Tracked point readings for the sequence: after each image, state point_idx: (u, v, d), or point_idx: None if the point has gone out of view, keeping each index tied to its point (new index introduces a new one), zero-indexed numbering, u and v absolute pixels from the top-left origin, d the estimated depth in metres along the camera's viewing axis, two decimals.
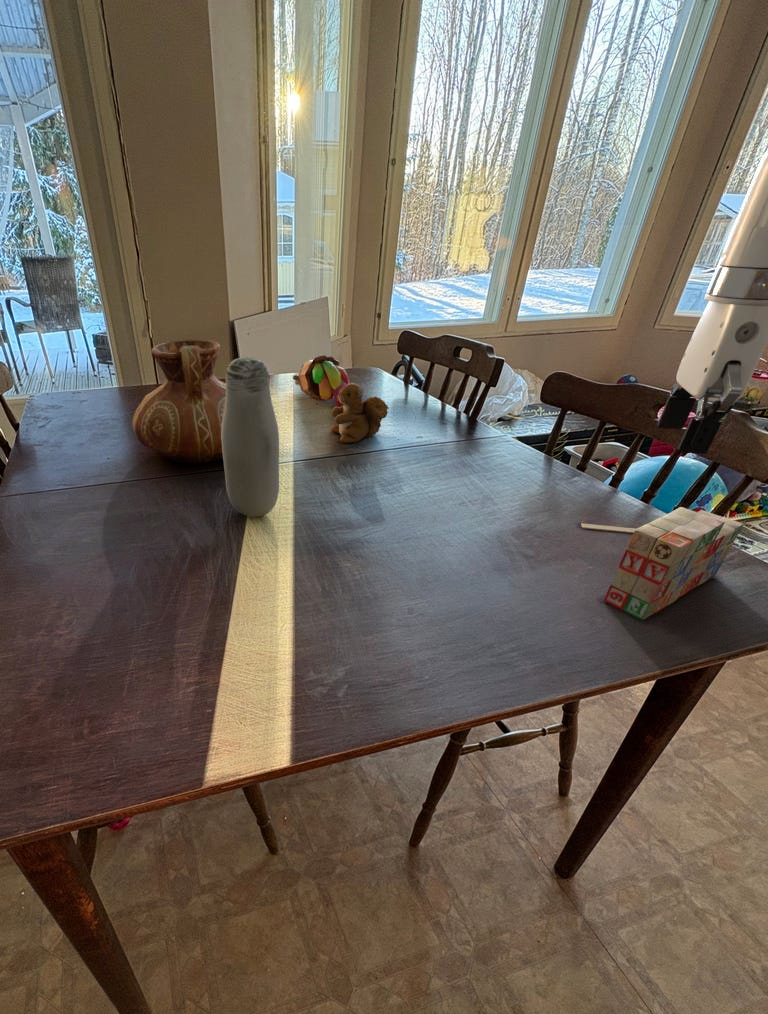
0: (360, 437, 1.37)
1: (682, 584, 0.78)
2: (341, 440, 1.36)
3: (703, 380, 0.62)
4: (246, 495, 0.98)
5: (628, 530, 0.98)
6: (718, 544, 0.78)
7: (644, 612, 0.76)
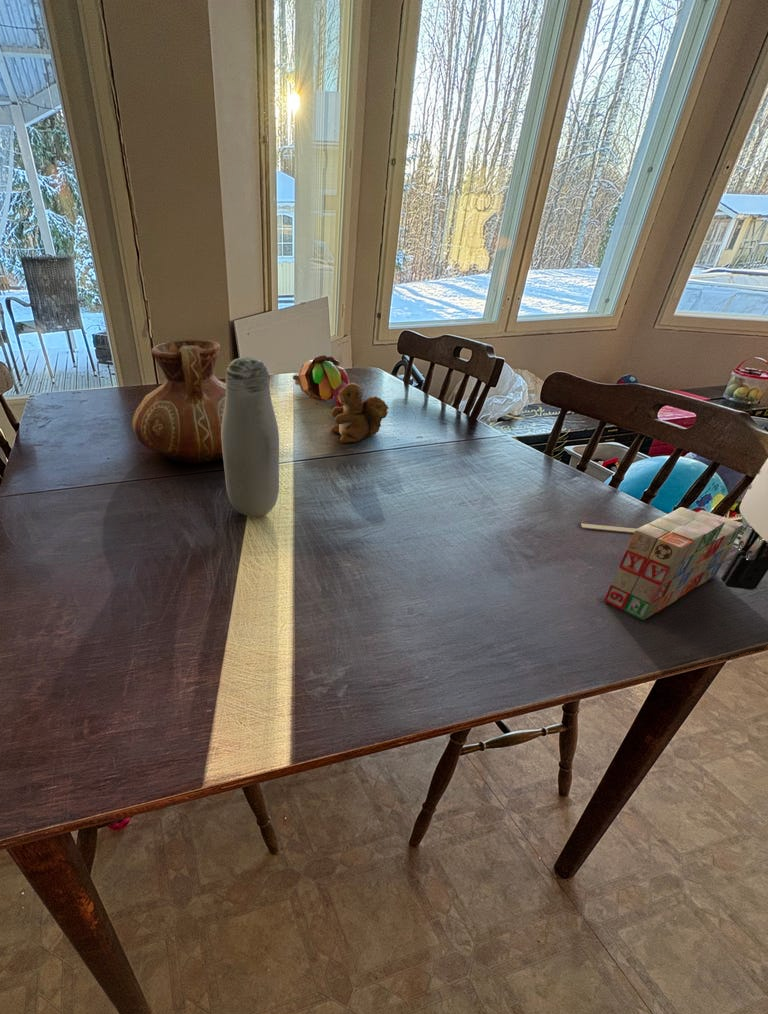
0: (360, 437, 1.37)
1: (682, 584, 0.78)
2: (341, 440, 1.36)
3: None
4: (246, 495, 0.98)
5: (628, 530, 0.98)
6: (718, 544, 0.78)
7: (644, 612, 0.76)
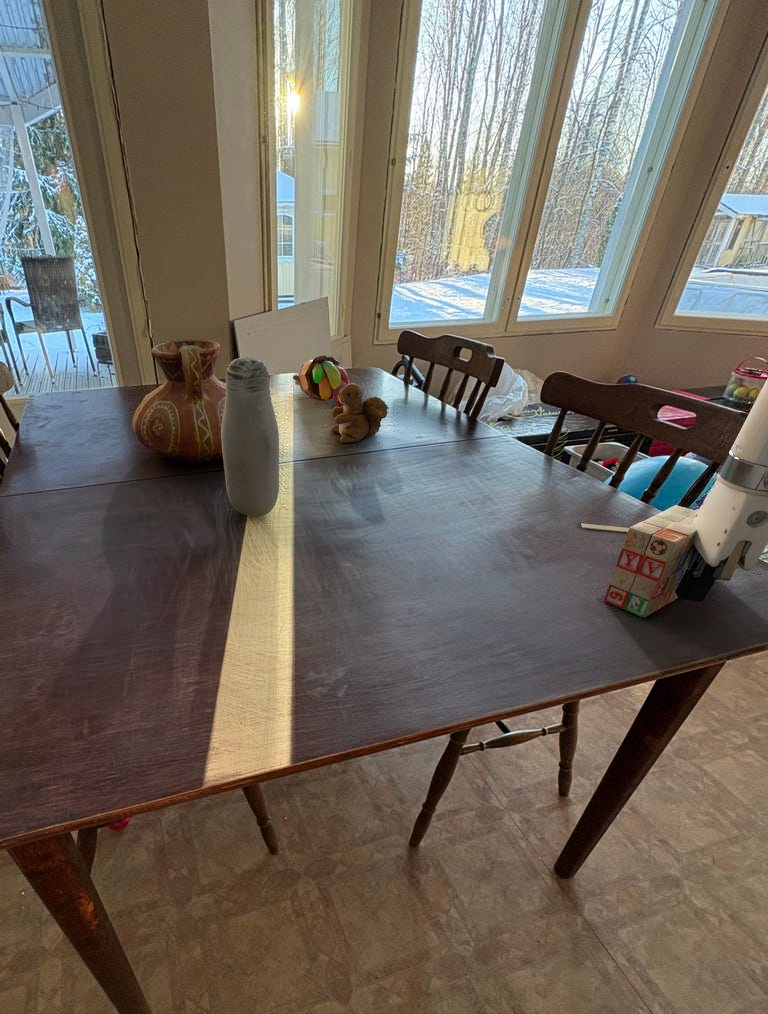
0: (360, 437, 1.37)
1: None
2: (341, 440, 1.36)
3: (716, 553, 0.67)
4: (246, 495, 0.98)
5: None
6: None
7: (645, 610, 0.76)
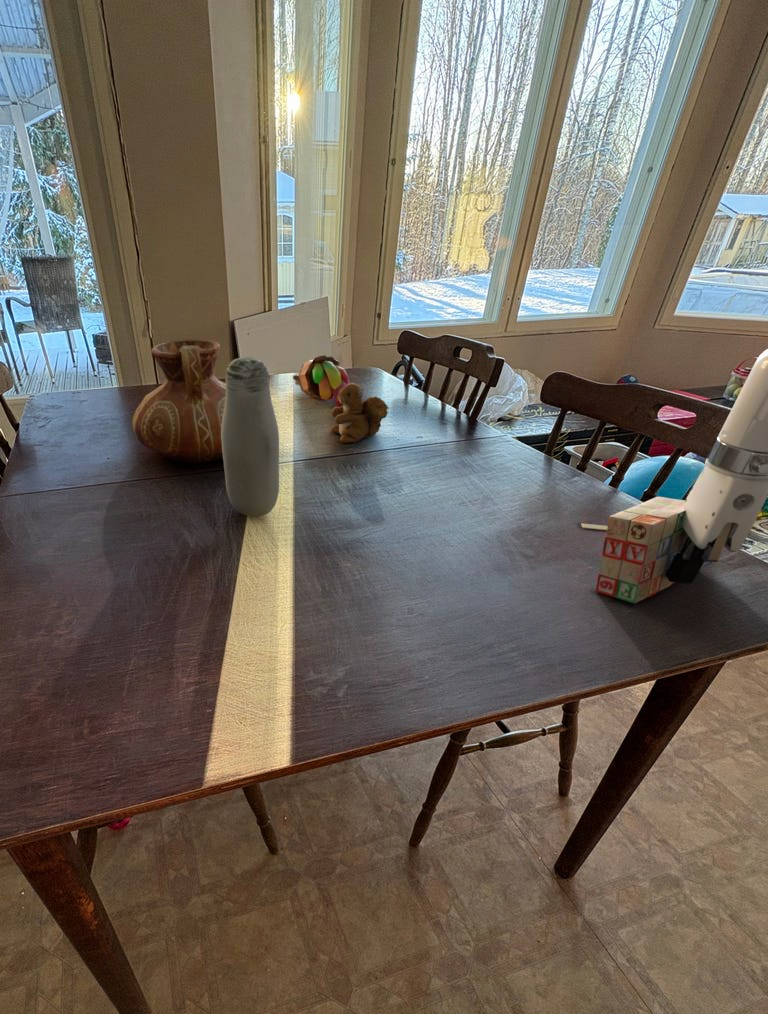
0: (360, 437, 1.37)
1: None
2: (341, 440, 1.36)
3: (704, 535, 0.70)
4: (246, 495, 0.98)
5: None
6: None
7: (634, 595, 0.78)
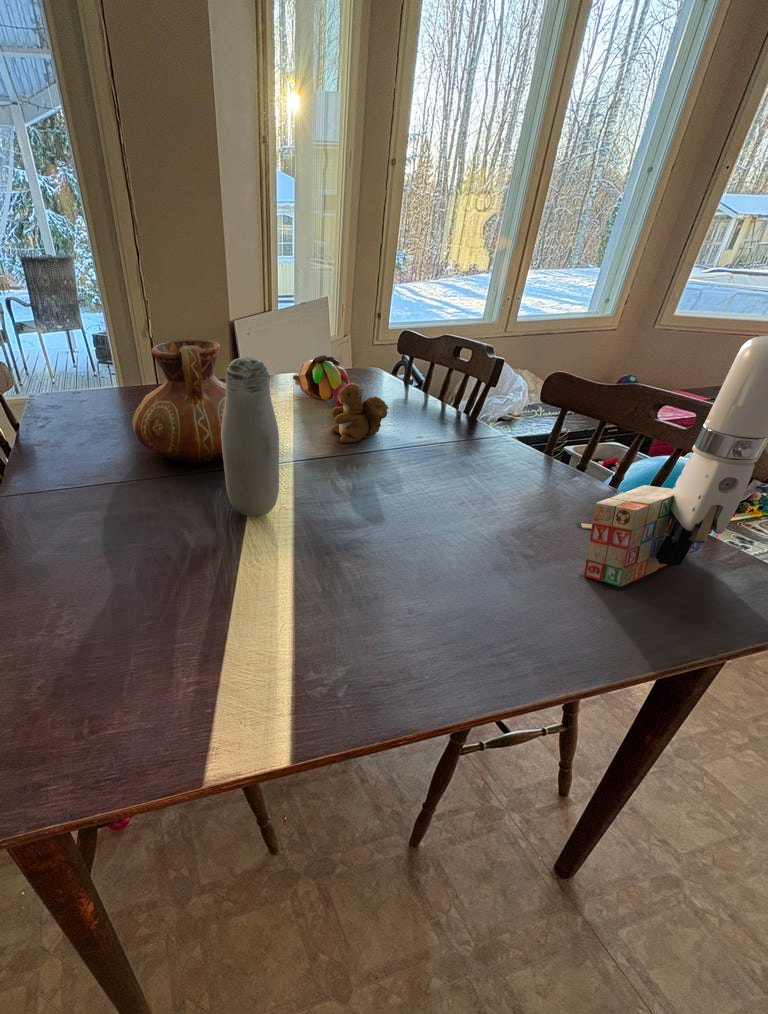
0: (360, 437, 1.37)
1: None
2: (341, 440, 1.36)
3: (691, 517, 0.73)
4: (246, 495, 0.98)
5: None
6: None
7: (620, 578, 0.81)
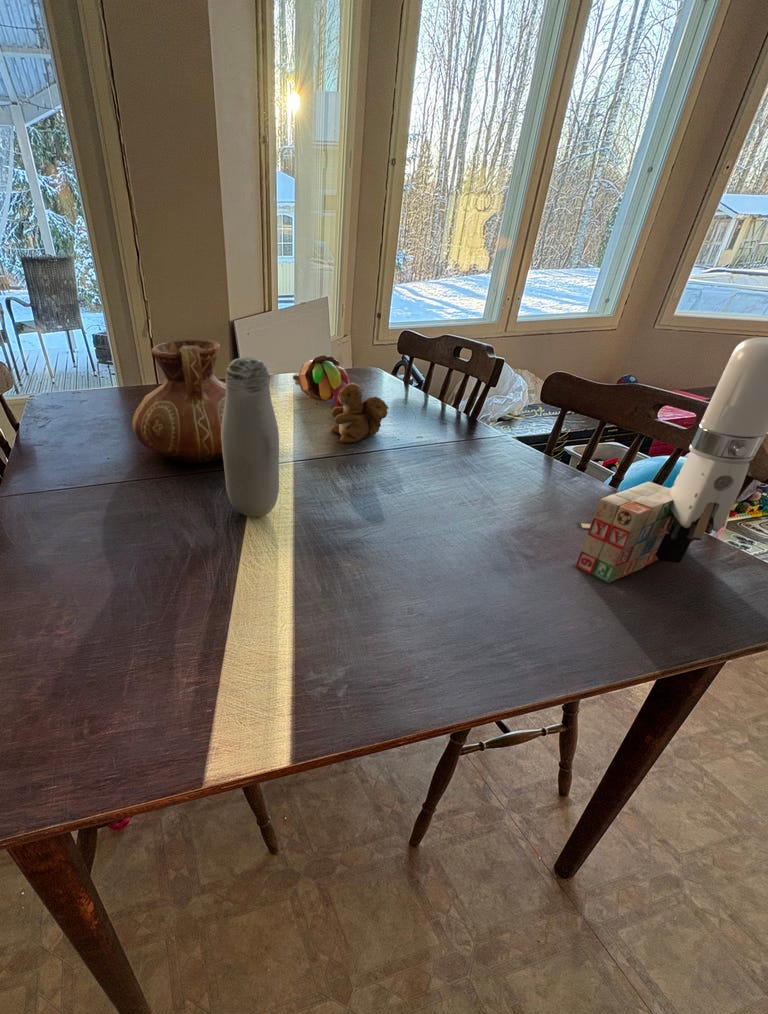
0: (360, 437, 1.37)
1: (647, 552, 0.86)
2: (341, 440, 1.36)
3: (688, 515, 0.75)
4: (246, 495, 0.98)
5: None
6: None
7: (609, 575, 0.84)
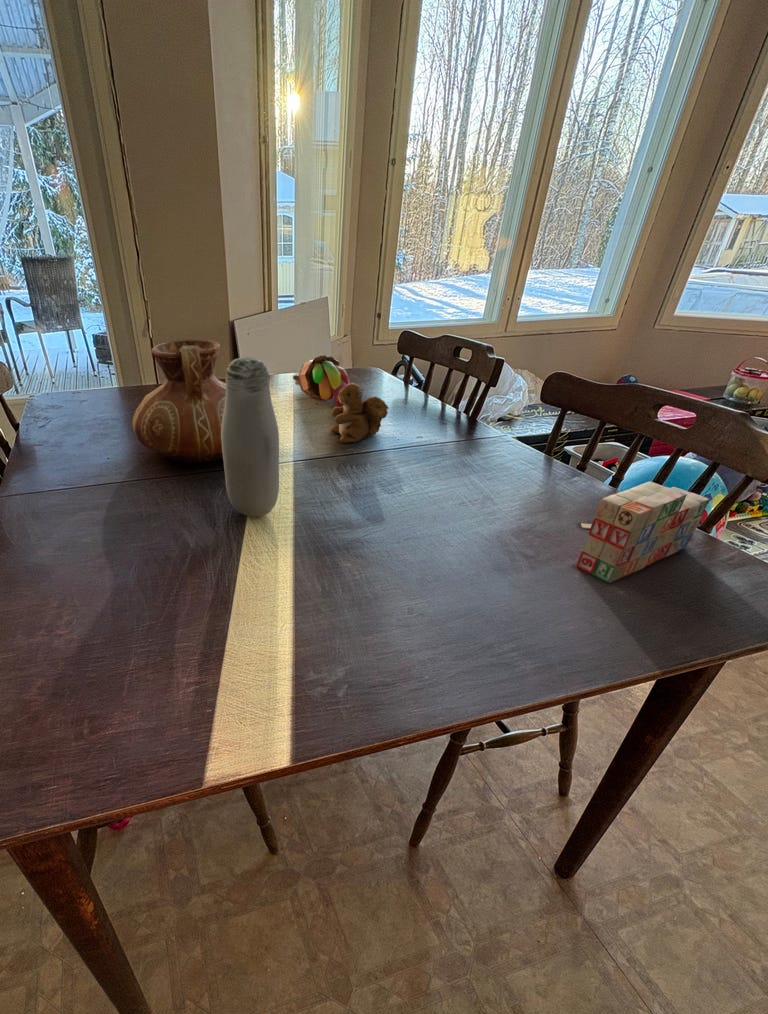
0: (360, 437, 1.37)
1: (648, 552, 0.86)
2: (341, 440, 1.36)
3: None
4: (246, 495, 0.98)
5: None
6: (683, 516, 0.85)
7: (610, 575, 0.84)
